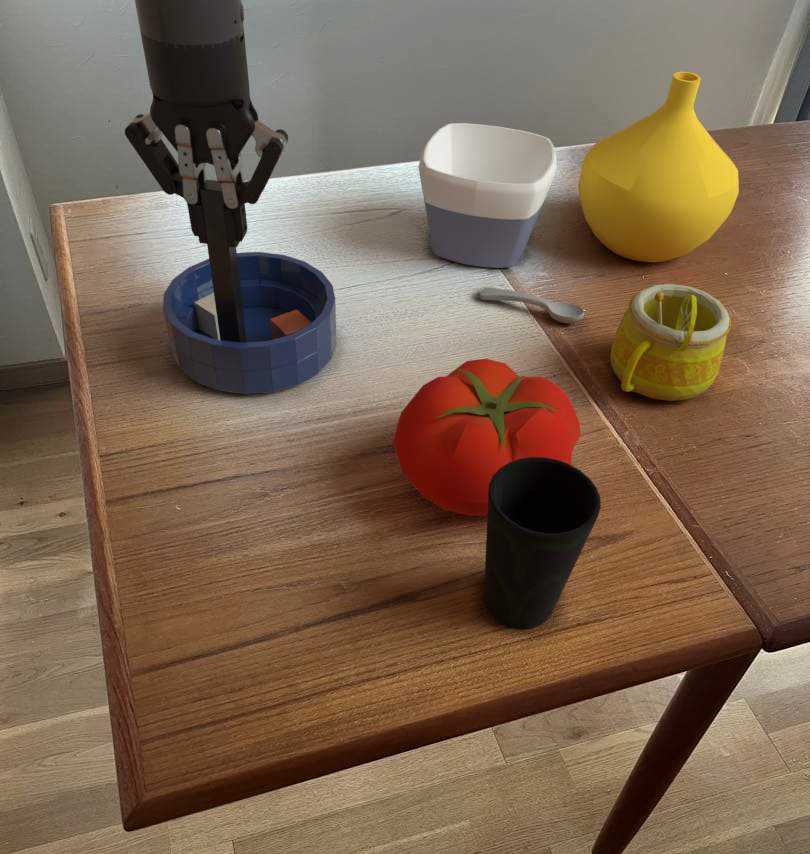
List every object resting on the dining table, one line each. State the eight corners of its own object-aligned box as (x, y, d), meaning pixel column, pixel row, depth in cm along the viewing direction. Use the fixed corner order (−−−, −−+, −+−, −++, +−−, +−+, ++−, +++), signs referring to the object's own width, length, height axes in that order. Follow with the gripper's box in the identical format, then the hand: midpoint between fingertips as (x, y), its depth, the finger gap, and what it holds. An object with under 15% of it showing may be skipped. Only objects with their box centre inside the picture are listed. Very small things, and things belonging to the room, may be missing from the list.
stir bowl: (150, 386, 80) (137, 334, 76) (202, 294, 91) (194, 243, 87) (316, 408, 79) (314, 357, 75) (349, 312, 90) (349, 262, 86)
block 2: (272, 345, 85) (269, 318, 82) (298, 335, 86) (297, 308, 83) (288, 361, 83) (286, 334, 80) (315, 351, 84) (313, 324, 82)
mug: (643, 331, 90) (675, 228, 81) (731, 378, 85) (775, 274, 76) (571, 379, 84) (597, 274, 75) (661, 433, 79) (700, 327, 70)
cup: (455, 576, 66) (470, 469, 57) (539, 553, 68) (567, 446, 59) (495, 652, 62) (519, 549, 53) (584, 624, 64) (622, 520, 55)
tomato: (361, 476, 73) (361, 388, 66) (489, 402, 81) (502, 316, 73) (474, 572, 67) (488, 486, 59) (602, 482, 74) (629, 396, 67)
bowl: (549, 224, 105) (565, 134, 96) (531, 287, 95) (548, 193, 86) (432, 204, 107) (438, 115, 98) (402, 265, 97) (406, 171, 88)
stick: (221, 350, 81) (199, 189, 69) (227, 339, 82) (206, 179, 71) (241, 353, 81) (222, 191, 69) (246, 341, 82) (229, 181, 70)
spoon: (578, 330, 89) (581, 314, 88) (476, 308, 93) (476, 292, 91) (586, 317, 91) (588, 300, 90) (485, 295, 95) (486, 279, 93)
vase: (725, 289, 96) (789, 119, 82) (569, 273, 97) (605, 103, 83) (705, 213, 108) (758, 53, 94) (566, 200, 109) (598, 40, 95)
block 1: (198, 328, 86) (194, 302, 83) (222, 316, 87) (218, 289, 85) (218, 341, 85) (214, 315, 82) (242, 329, 86) (238, 302, 84)
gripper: (80, 30, 58) (131, 254, 71) (270, 49, 57) (287, 272, 71) (119, -3, 63) (160, 212, 76) (295, 14, 62) (306, 229, 75)
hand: (221, 240), depth 73 cm, fingers closed on stick, 2 cm apart
